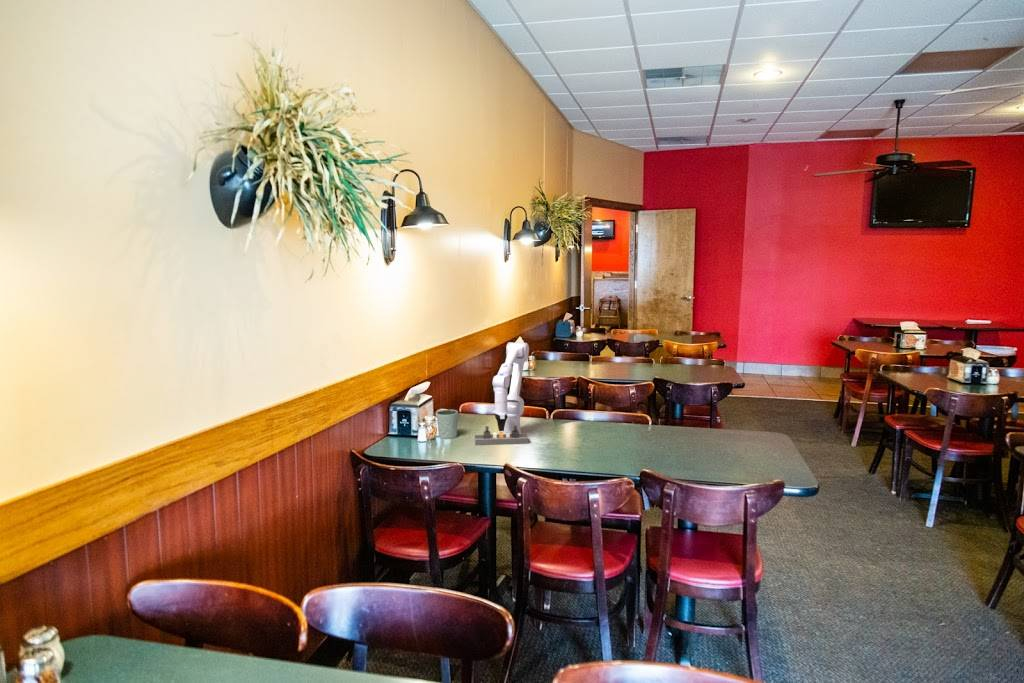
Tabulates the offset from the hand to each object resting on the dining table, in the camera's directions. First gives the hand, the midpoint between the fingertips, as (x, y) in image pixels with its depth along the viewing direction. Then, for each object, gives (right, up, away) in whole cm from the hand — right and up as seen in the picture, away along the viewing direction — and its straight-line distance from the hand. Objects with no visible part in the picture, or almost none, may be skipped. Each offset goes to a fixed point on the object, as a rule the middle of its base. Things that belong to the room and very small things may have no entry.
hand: (501, 430), depth 281 cm
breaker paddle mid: (0, -3, 0) cm, 3 cm away
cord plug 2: (+6, -3, +1) cm, 7 cm away
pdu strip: (0, -5, +1) cm, 5 cm away
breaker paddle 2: (+3, -3, +1) cm, 4 cm away
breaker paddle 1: (-3, -3, 0) cm, 4 cm away
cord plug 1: (-7, -3, 0) cm, 7 cm away
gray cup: (-26, -5, +10) cm, 28 cm away
